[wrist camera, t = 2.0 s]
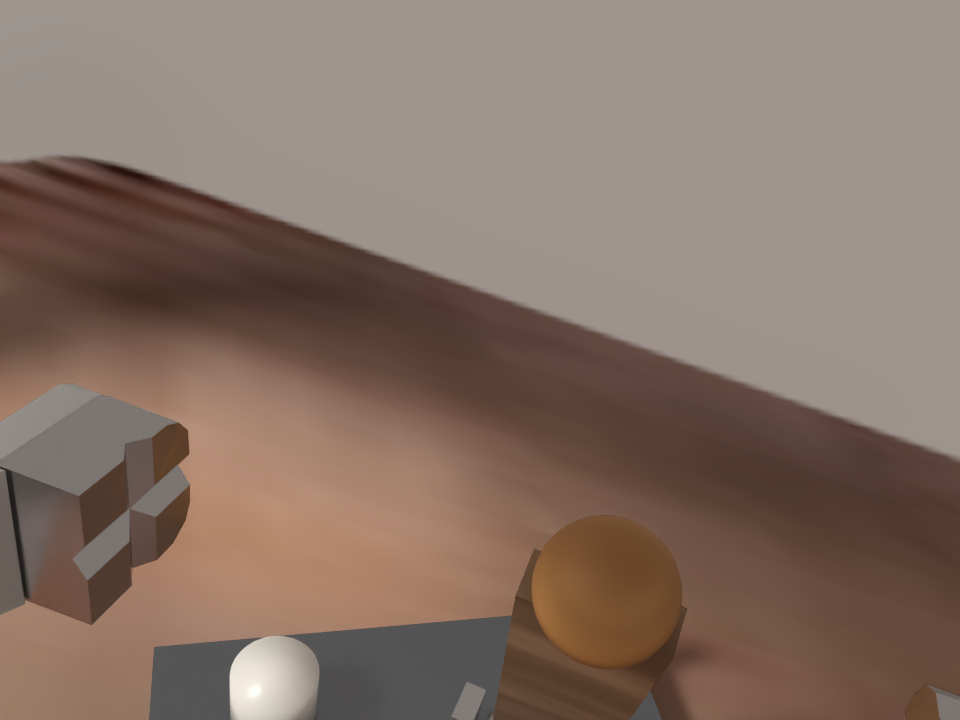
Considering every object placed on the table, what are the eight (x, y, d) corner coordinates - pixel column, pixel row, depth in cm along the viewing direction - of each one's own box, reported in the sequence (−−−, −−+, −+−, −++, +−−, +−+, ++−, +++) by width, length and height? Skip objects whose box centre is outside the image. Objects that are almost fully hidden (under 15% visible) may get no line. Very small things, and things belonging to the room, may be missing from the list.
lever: (576, 828, 33) (705, 681, 17) (466, 778, 34) (485, 592, 18) (603, 742, 35) (743, 533, 18) (497, 697, 36) (541, 458, 19)
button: (229, 677, 35) (229, 639, 34) (313, 668, 36) (316, 632, 35) (230, 754, 33) (229, 718, 31) (319, 744, 33) (322, 707, 32)
